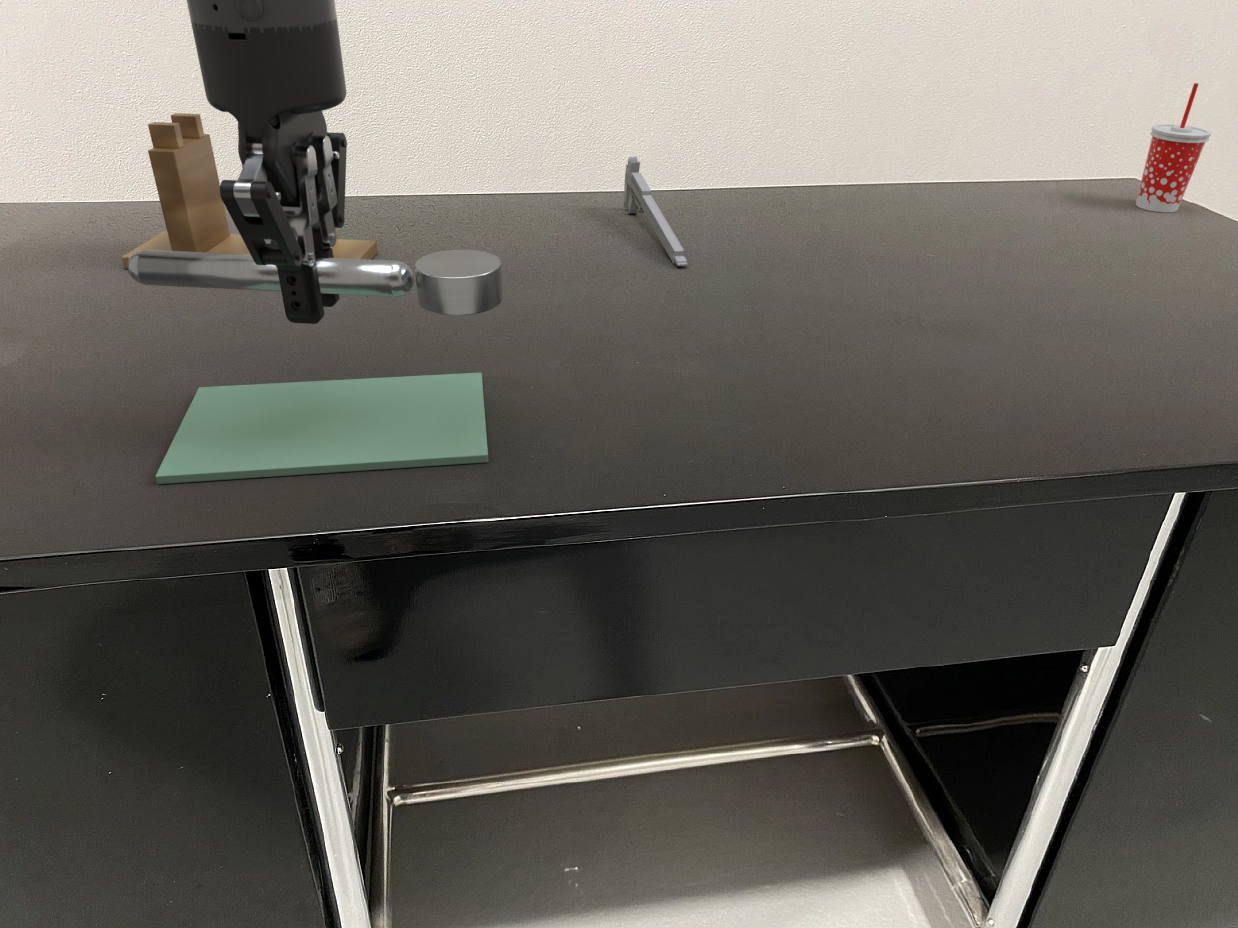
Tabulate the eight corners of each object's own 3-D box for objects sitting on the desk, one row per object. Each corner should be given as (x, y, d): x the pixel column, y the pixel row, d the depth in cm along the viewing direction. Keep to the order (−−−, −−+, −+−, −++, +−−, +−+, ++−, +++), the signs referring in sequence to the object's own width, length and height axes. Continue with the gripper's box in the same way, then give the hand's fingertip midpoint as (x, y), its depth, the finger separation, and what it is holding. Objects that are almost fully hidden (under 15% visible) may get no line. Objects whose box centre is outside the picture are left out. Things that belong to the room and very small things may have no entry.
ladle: (112, 299, 57) (102, 262, 56) (155, 271, 62) (146, 235, 60) (493, 317, 56) (491, 279, 54) (509, 287, 60) (507, 251, 59)
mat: (157, 484, 57) (154, 476, 56) (200, 394, 67) (198, 387, 66) (488, 462, 59) (488, 454, 59) (482, 379, 69) (481, 372, 69)
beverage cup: (1182, 217, 109) (1225, 90, 101) (1125, 208, 112) (1163, 84, 104) (1186, 205, 113) (1228, 82, 106) (1131, 197, 116) (1168, 77, 109)
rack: (124, 269, 88) (85, 125, 81) (166, 242, 95) (133, 108, 88) (352, 280, 86) (331, 135, 80) (378, 252, 93) (361, 116, 86)
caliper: (623, 209, 107) (624, 154, 104) (632, 209, 108) (633, 153, 104) (677, 269, 91) (681, 204, 87) (688, 268, 91) (692, 204, 88)
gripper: (250, -2, 56) (298, 273, 65) (129, 26, 45) (207, 355, 54) (372, 2, 56) (402, 277, 65) (281, 30, 44) (334, 362, 53)
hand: (314, 311), depth 59 cm, fingers closed on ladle, 2 cm apart
